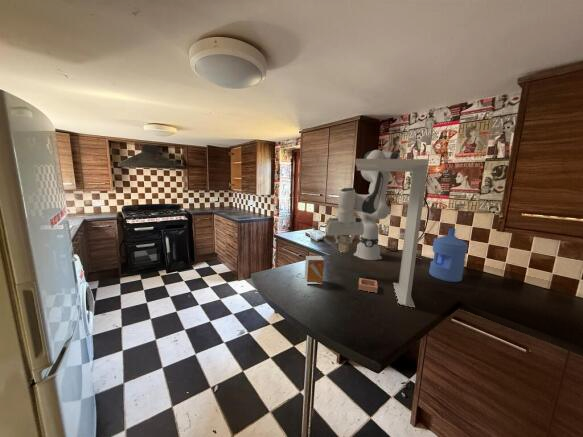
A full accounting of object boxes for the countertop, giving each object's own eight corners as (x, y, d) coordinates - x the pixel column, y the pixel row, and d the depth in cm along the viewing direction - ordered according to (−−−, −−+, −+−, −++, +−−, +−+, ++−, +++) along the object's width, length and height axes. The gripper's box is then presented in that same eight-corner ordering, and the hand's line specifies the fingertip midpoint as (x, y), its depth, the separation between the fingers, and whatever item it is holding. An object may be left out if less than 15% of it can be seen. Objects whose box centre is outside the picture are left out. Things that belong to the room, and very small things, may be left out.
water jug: (451, 272, 136) (458, 226, 132) (468, 283, 121) (477, 232, 117) (423, 270, 138) (430, 225, 134) (437, 281, 122) (445, 230, 118)
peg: (342, 249, 129) (343, 234, 127) (348, 251, 126) (349, 235, 125) (338, 250, 126) (339, 235, 124) (344, 252, 123) (345, 236, 122)
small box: (306, 285, 111) (308, 259, 109) (304, 279, 117) (305, 255, 115) (322, 285, 112) (324, 259, 110) (319, 279, 118) (321, 255, 116)
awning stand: (348, 277, 123) (357, 163, 114) (406, 286, 114) (421, 164, 105) (344, 295, 102) (355, 158, 93) (414, 308, 93) (434, 159, 84)
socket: (358, 283, 116) (359, 277, 115) (376, 286, 113) (376, 280, 113) (358, 290, 108) (358, 284, 107) (376, 293, 105) (377, 287, 105)
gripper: (327, 218, 119) (326, 244, 122) (365, 219, 121) (363, 244, 123) (325, 216, 126) (324, 241, 128) (361, 217, 127) (359, 241, 129)
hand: (343, 242), depth 125 cm, fingers closed on peg, 6 cm apart
